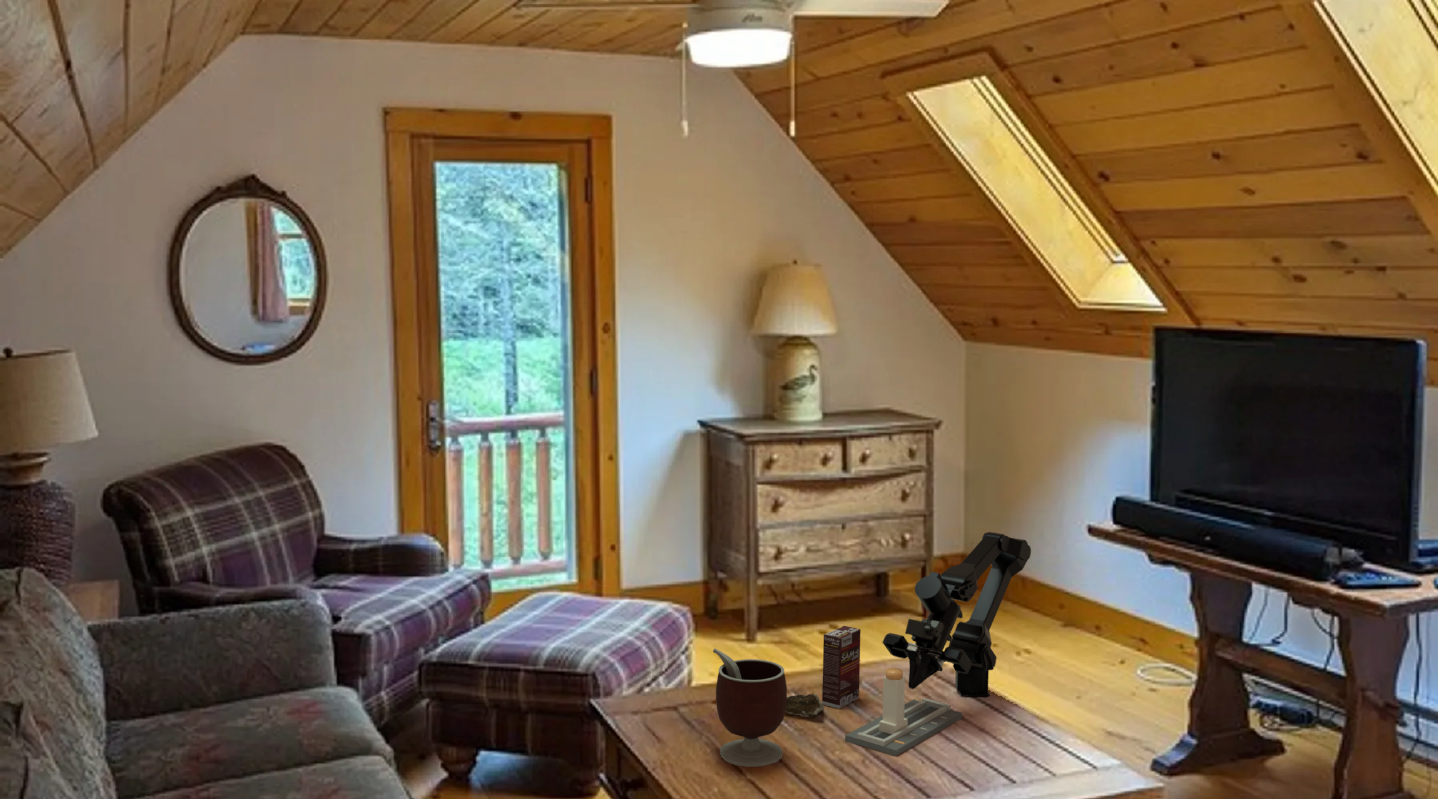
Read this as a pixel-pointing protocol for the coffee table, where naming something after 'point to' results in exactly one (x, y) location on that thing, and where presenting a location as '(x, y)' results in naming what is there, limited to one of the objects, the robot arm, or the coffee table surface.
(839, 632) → the supplement box
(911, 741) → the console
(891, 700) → the fader knob
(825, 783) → the coffee table surface
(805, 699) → the rock sample
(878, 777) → the coffee table surface
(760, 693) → the mate gourd
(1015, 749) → the coffee table surface
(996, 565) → the robot arm
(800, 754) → the coffee table surface
